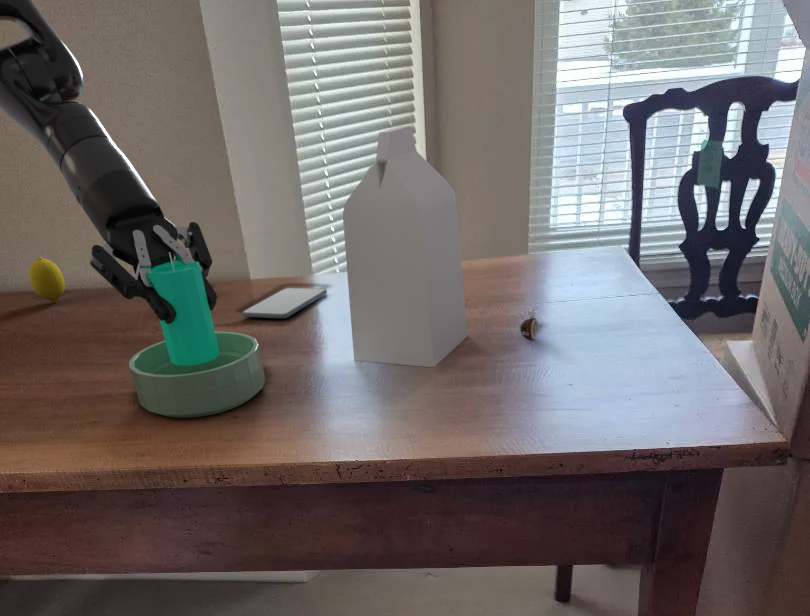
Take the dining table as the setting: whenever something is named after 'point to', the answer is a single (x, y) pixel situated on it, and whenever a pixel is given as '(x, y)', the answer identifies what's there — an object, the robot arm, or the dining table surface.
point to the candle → (186, 313)
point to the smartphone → (284, 303)
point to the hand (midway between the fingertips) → (192, 312)
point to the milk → (403, 259)
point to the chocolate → (530, 327)
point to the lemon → (47, 279)
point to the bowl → (199, 378)
